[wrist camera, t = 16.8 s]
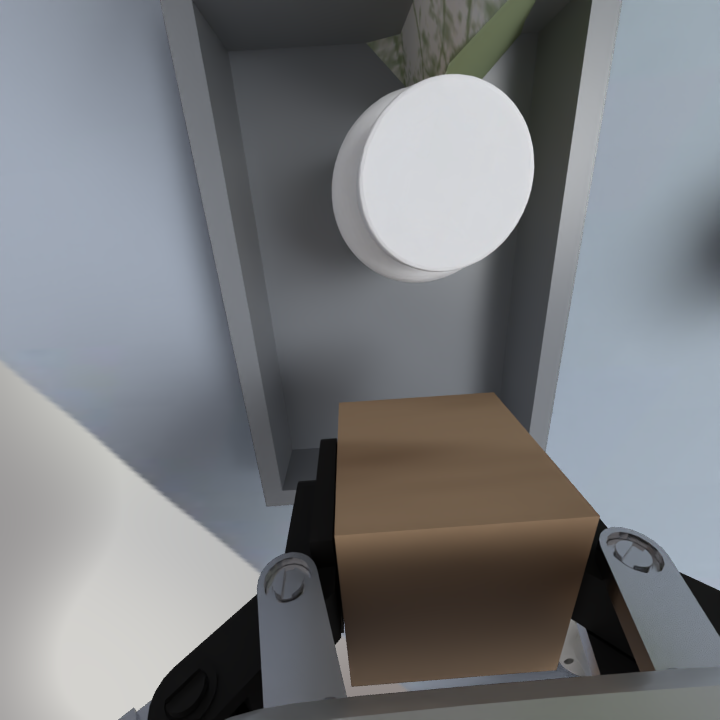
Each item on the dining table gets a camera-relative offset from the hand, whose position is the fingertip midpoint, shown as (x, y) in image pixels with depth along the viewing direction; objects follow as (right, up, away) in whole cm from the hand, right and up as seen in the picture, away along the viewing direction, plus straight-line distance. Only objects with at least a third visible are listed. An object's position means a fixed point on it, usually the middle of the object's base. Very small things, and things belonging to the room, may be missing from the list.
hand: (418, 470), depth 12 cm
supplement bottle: (0, +11, +5) cm, 12 cm away
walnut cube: (0, 0, +1) cm, 1 cm away
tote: (0, +8, +7) cm, 11 cm away
